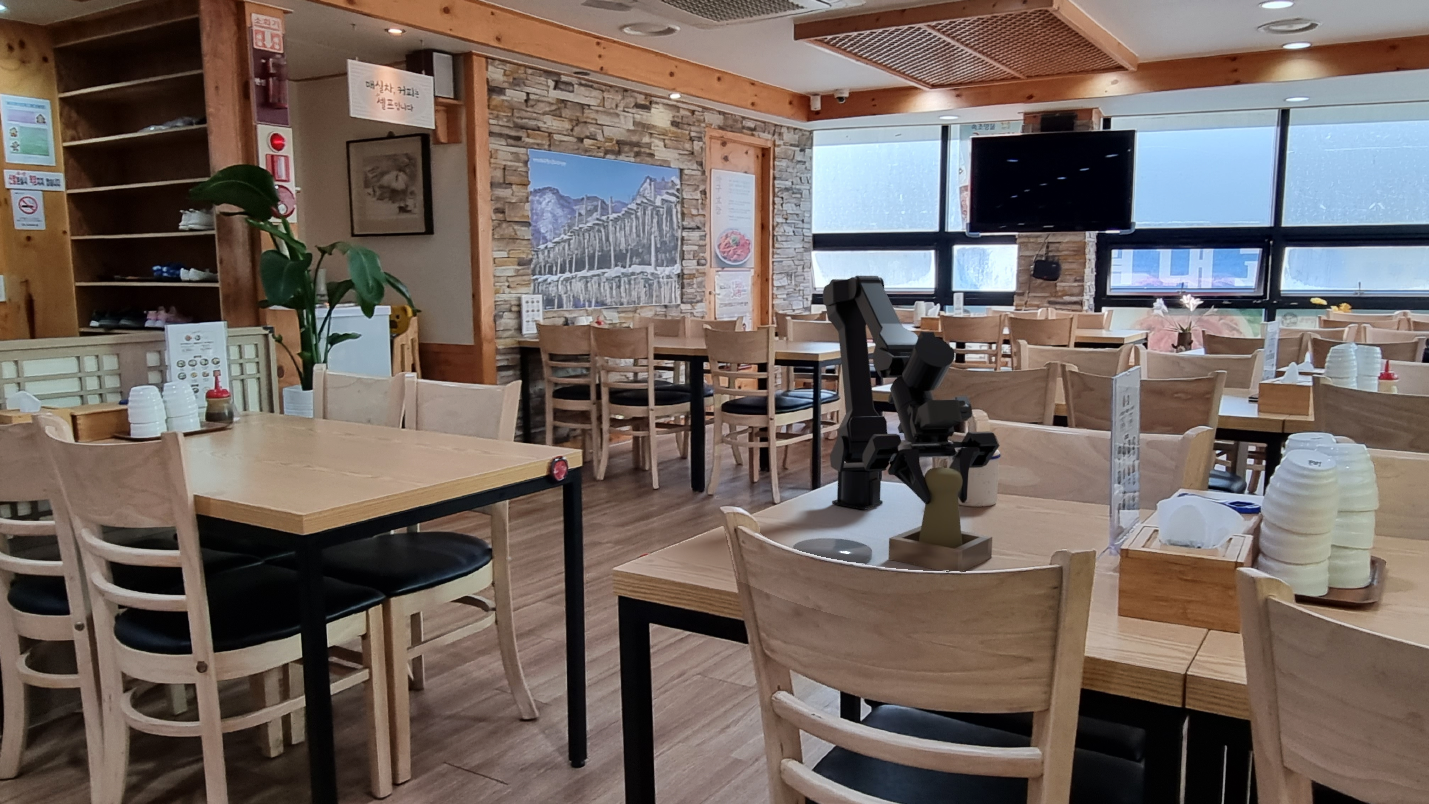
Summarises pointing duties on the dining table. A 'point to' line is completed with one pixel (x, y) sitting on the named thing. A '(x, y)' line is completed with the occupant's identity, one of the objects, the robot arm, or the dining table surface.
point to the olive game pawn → (942, 508)
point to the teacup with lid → (980, 482)
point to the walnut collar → (940, 551)
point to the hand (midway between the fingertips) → (946, 502)
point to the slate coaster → (836, 549)
